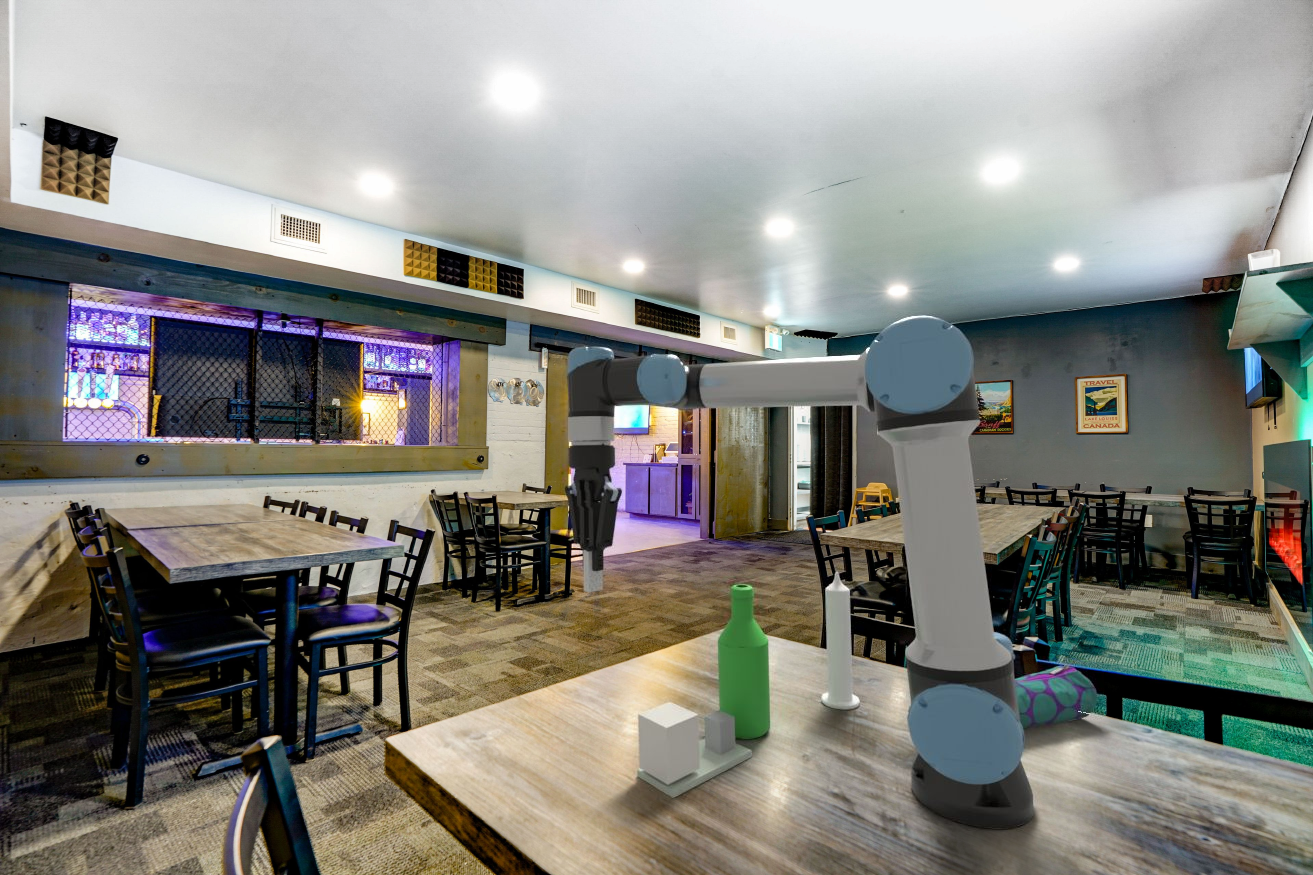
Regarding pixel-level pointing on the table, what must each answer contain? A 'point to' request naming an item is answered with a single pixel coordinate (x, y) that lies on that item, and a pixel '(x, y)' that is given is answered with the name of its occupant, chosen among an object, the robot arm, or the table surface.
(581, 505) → the robot arm
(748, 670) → the bottle
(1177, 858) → the table surface
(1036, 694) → the pencil case
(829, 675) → the candle
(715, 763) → the rack
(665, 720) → the white square column
